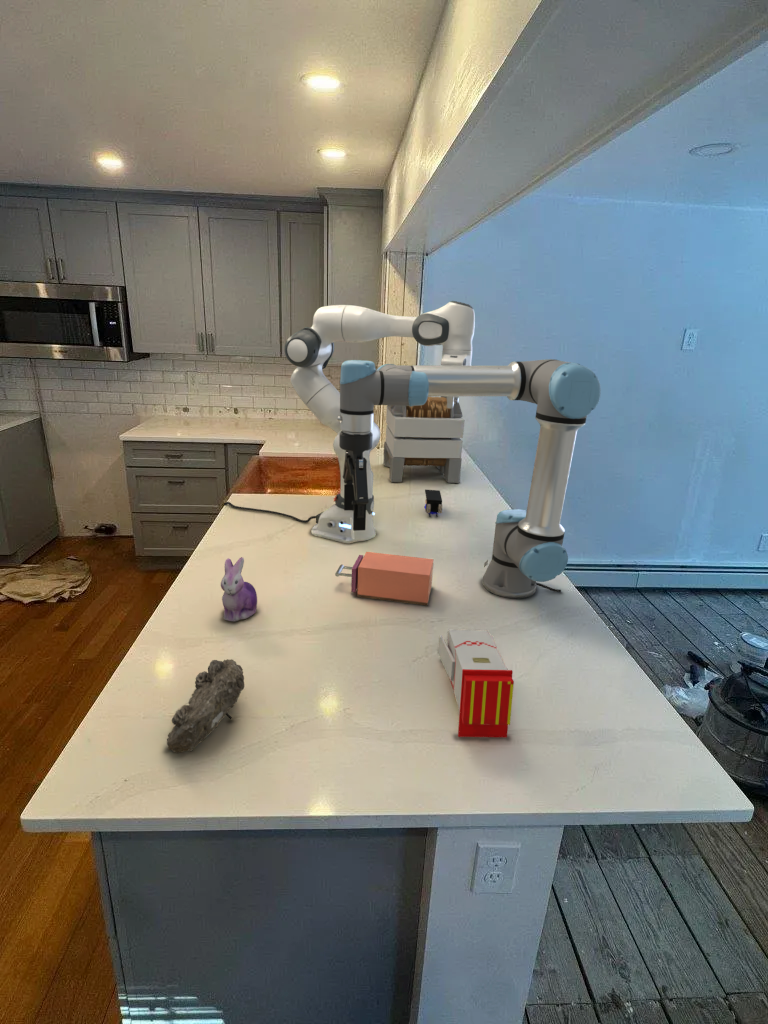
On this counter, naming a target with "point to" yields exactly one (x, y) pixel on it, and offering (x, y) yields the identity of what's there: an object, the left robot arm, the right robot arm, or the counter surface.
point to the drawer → (354, 573)
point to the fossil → (206, 705)
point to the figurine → (237, 593)
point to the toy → (478, 682)
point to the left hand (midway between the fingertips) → (452, 405)
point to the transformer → (424, 438)
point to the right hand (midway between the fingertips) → (354, 519)
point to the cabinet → (395, 578)
